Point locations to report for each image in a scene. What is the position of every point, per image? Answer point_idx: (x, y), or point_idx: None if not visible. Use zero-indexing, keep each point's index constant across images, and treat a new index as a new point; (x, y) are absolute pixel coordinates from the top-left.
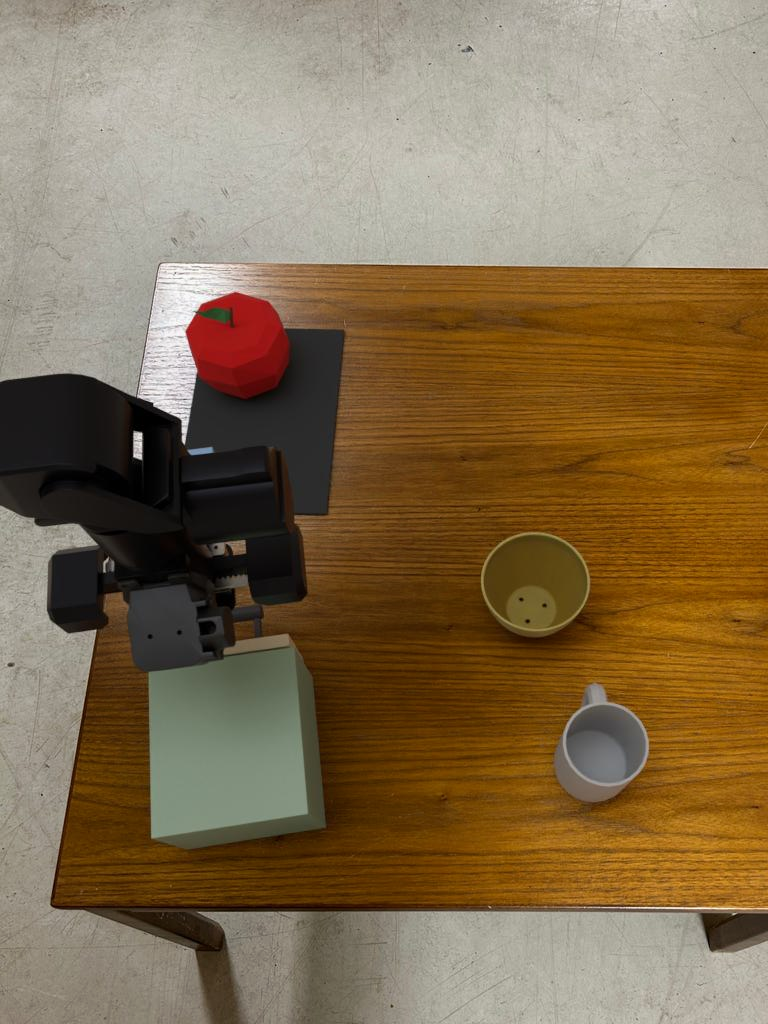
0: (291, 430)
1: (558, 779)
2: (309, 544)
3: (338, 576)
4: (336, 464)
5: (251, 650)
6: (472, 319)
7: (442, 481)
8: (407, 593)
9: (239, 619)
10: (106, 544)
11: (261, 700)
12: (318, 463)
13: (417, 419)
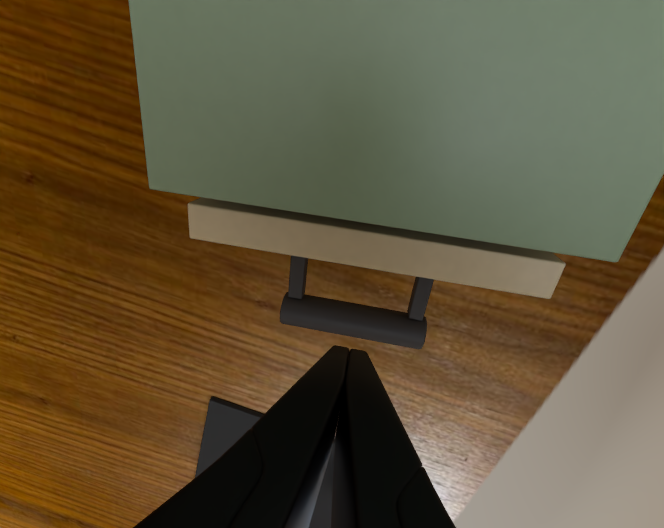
0: None
1: None
2: (239, 369)
3: (201, 313)
4: (196, 446)
5: (289, 221)
6: (52, 518)
7: (65, 385)
8: (100, 255)
9: (330, 307)
10: None
11: (258, 8)
12: (215, 457)
13: (101, 457)
